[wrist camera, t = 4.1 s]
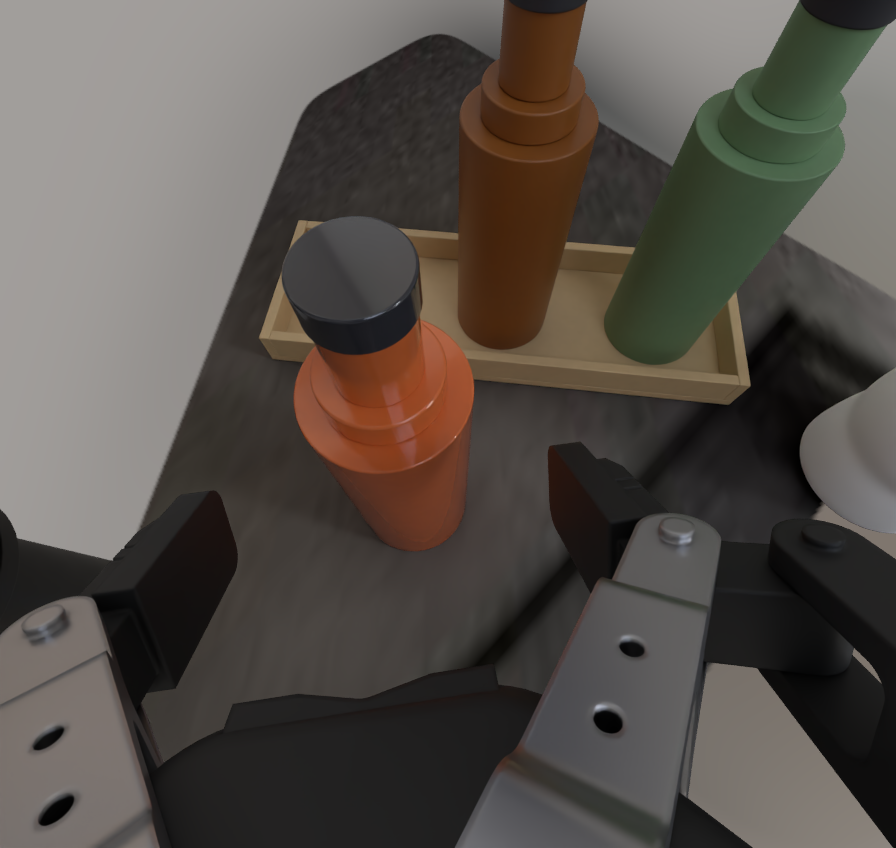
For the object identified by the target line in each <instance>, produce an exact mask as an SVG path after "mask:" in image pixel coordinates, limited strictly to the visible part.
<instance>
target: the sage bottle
mask: <svg viewBox="0 0 896 848" xmlns="http://www.w3.org/2000/svg"><path fill="white" fill-rule="evenodd" d="M895 19H896V0H799V2H798V4H797V6H796V8H795V9H794V11H793V13H792V15H791V17H790V19H789V21H788V22H787V25H786V26H785V28H784V30H783V32H782V34H781V36H780V37H779V39H778V41H777V43H776V45H775V47H774V49H773V51H772V53H771V54H770V56H769V58H768V60H767V62H766V64H765V65H764V67H760V68H756V69H753V70H751V71H748V72H747V73H745V74H743V75H742V76H741V77H740V78H739V79H738V80H737V82H736V84H735V86H734V88H733V89H729V90H726V91H723V92H720V93H718V94H716V95H714V96H713V97H711V98H709V99H708V100H707V101H706V102H705V103H704V104H703V105H702V106H701V107H700V109H699V111H698V113H697V115H696V117H695V119H694V121H693V123H692V126H691V128H690V130H689V132H688V134H687V137H686V139H685V141H684V143H683V145H682V148H681V150H680V152H679V154H678V156H677V158H676V160H675V163H674V165H673V167H672V169H671V171H670V174H669V176H668V178H667V180H666V182H665V184H664V187H663V189H662V191H661V193H660V195H659V197H658V200H657V202H656V204H655V206H654V208H653V211H652V213H651V215H650V217H649V219H648V221H647V224H646V226H645V228H644V230H643V232H642V234H641V237H640V239H639V241H638V243H637V245H636V248H635V250H634V252H633V254H632V256H631V258H630V261H629V263H628V265H627V267H626V269H625V272H624V274H623V276H622V278H621V280H620V282H619V285H618V287H617V289H616V291H615V293H614V295H613V298H612V300H611V302H610V304H609V306H608V309H607V311H606V313H605V317H604V327H605V332H606V335H607V337H608V339H609V341H610V342H611V343H612V345H613V346H614V347H615V348H616V349H617V350H618V351H619V352H620V353H622V354H623V355H625V356H626V357H628V358H630V359H632V360H634V361H637V362H640V363H644V364H650V365H661V364H667V363H671V362H673V361H676V360H678V359H680V358H681V357H682V356H684V355H685V354H686V353H687V352H688V351H689V349H690V348H691V347H692V346H693V344H694V343H695V342H696V341H697V339H698V338H699V337H700V336H701V334H702V333H703V332H704V331H705V329H706V328H707V327H708V326H709V324H710V323H711V322H712V321H713V319H714V318H715V317H716V316H717V314H718V313H719V312H720V311H721V309H722V308H723V307H724V306H725V304H726V303H727V302H728V301H729V299H730V298H731V297H732V296H733V294H734V293H735V292H736V291H737V290H738V288H739V287H740V286H741V285H742V283H743V282H744V281H745V280H746V278H747V277H748V276H749V275H750V273H751V272H752V271H753V270H754V268H755V267H756V266H757V265H758V263H759V262H760V261H761V260H762V258H763V257H764V256H765V255H766V253H767V252H768V251H769V250H770V248H771V247H772V246H773V245H774V243H775V242H776V241H777V240H778V238H779V237H780V236H781V235H782V233H783V232H784V231H785V230H786V229H787V227H788V226H789V225H790V224H791V222H792V221H793V219H795V217H796V216H797V215H798V214H799V212H800V211H801V210H802V209H803V207H804V206H805V205H806V203H807V202H808V201H809V200H810V199H811V197H812V196H813V195H814V194H815V192H816V191H817V190H818V189H819V187H820V186H821V185H822V184H823V182H824V181H825V180H826V179H827V177H828V176H829V175H830V174H831V172H832V171H833V170H834V169H835V167H836V166H837V165H838V164H839V162H840V161H841V159H842V157H843V153H844V150H845V141H844V137H843V133H842V131H841V129H840V127H839V124H840V123H841V121H842V120H843V118H844V117H845V113H846V102H845V100H844V97H843V96H842V94H841V93H840V92H841V90H842V89H843V87H844V86H845V84H846V83H847V82H848V80H849V79H850V77H851V76H852V74H853V73H854V72H855V70H856V69H857V67H858V66H859V64H860V63H861V62H862V60H863V59H864V57H865V56H866V54H867V53H868V51H869V50H870V49H871V47H872V46H873V44H874V43H875V42H876V40H877V39H878V37H879V36H880V34H881V33H882V31H883V30H884V29H885V27H886V26H887V25H888V24H890V23H891V22H892V21H894V20H895Z"/></svg>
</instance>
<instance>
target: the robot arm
mask: <svg viewBox="0 0 896 848" xmlns="http://www.w3.org/2000/svg"><path fill="white" fill-rule="evenodd" d="M548 473H549V501H550V511H551V516H552V520H553V523H554V526H555V528H556V530H557V532H558V534H559V535H560V537H561V539H562V541H563V543H564V545H565V547H566V548H567V550H568V552H569V554H570V556H571V558H572V560H573V561H574V563H575V565H576V567H577V569H578V571H579V572H580V574H581V576H582V578H583V580H584V582H585V584H586V585H587V587H588V589H589V591H590V593H591V595H590V597H589V599H588V601H587V603H586V605H585V607H584V609H583V612H582V614H581V616H580V618H579V620H578V622H577V624H576V626H575V628H574V630H573V632H572V634H571V637H570V639H569V641H568V643H567V645H566V647H565V649H564V651H563V653H562V655H561V657H560V659H559V662H558V664H557V666H556V668H555V670H554V672H553V674H552V676H551V678H550V680H549V682H548V684H547V687H546V689H545V691H544V693H543V695H541V694H539V693H536V692H532V691H529V690H526V689H521V688H516V687H511V686H503V685H498V681H497V676H496V671H495V667H494V664H489V665H483V666H476V667H470V668H463V669H457V670H450V671H444V672H438V673H431V674H428V675H426V676H423V677H421V678H418V679H415V680H413V681H410V682H408V683H405V684H402V685H400V686H397V687H395V688H392V689H389V690H387V691H384V692H382V693H379V694H376V695H374V696H371V697H368V698H363V699H353V698H341V697H329V696H316V695H304V694H295V695H288V696H282V697H275V698H269V699H262V700H256V701H249V702H243V703H236V704H233V705H232V708H231V710H230V713H229V716H228V719H227V721H226V724H225V727H224V729H222V730H220V731H217V732H215V733H213V734H211V735H209V736H207V737H205V738H203V739H201V740H199V741H197V742H195V743H194V744H192V745H190V746H188V747H187V748H185V749H183V750H182V751H180V752H179V753H177V754H176V755H174V756H173V757H172V758H170V759H169V760H167V761H166V762H165V763H164V762H163V760H162V757H161V754H160V751H159V748H158V745H157V742H156V740H155V737H154V734H153V731H152V728H151V725H150V722H149V720H148V717H147V714H146V712H145V710H144V708H143V705H142V703H141V702H142V700H143V698H144V697H145V695H146V693H149V692H156V691H162V690H169V689H175V688H176V686H177V685H178V683H179V681H180V679H181V677H182V675H183V673H184V671H185V669H186V667H187V665H188V663H189V661H190V659H191V657H192V655H193V653H194V651H195V649H196V648H197V646H198V644H199V642H200V640H201V638H202V636H203V634H204V632H205V630H206V628H207V626H208V624H209V622H210V620H211V618H212V616H213V614H214V612H215V611H216V609H217V607H218V605H219V603H220V601H221V599H222V597H223V595H224V593H225V591H226V589H227V587H228V585H229V583H230V581H231V579H232V577H233V575H234V573H235V571H236V568H237V560H238V554H237V547H236V543H235V540H234V537H233V534H232V531H231V527H230V524H229V521H228V518H227V514H226V511H225V508H224V505H223V502H222V499H221V497H220V495H219V494H218V493H217V492H216V491H214V490H213V491H205V492H198V493H190V494H183V495H180V496H178V497H177V498H176V500H175V501H174V502H173V503H172V504H171V505H170V506H169V507H168V509H167V510H166V511H165V512H164V513H163V514H162V515H161V516H160V517H159V518H158V519H156V520H155V521H153V522H152V523H150V524H149V525H147V526H146V527H144V528H143V529H141V530H140V531H138V532H137V533H136V534H135V535H134V536H133V537H132V539H131V540H130V541H129V542H128V543H127V544H126V545H125V548H124V549H121V550H120V552H119V553H118V554H117V555H116V556H115V557H114V558H113V561H111V562H109V563H108V564H107V566H106V567H105V568H104V569H103V570H102V571H101V572H100V573H99V574H98V575H97V576H96V577H95V579H94V580H93V581H92V582H91V583H90V584H89V585H88V586H87V587H86V588H85V589H84V590H83V591H82V593H81V594H80V595H79V596H74V597H68V598H64V599H60V600H57V601H54V602H52V603H49V604H47V605H44V606H42V607H40V608H38V609H36V610H34V611H32V612H30V613H28V614H27V615H25V616H23V617H22V618H20V619H19V620H17V621H16V622H14V623H13V624H12V625H11V626H9V627H8V628H7V629H6V630H5V631H4V632H3V633H2V634H1V635H0V848H752V847H751V846H750V845H748V844H747V843H746V842H745V841H743V840H742V839H741V838H739V837H738V836H737V835H735V834H734V833H733V832H731V831H730V830H729V829H727V828H726V827H725V826H724V825H722V824H721V823H720V822H718V821H717V820H716V819H714V818H713V817H712V816H710V815H709V814H708V813H706V812H705V811H704V810H702V809H701V808H700V807H698V806H697V805H696V804H694V803H693V802H692V801H691V800H689V799H688V791H689V784H690V777H691V768H692V760H693V753H694V747H695V740H696V734H697V728H698V721H699V714H700V708H701V702H702V695H703V689H704V682H705V676H706V669H707V662H711V663H720V664H728V665H737V666H745V667H753V668H758V670H759V671H760V673H761V674H762V675H763V677H764V678H765V679H766V681H767V682H768V683H769V685H770V686H771V687H772V688H773V690H774V691H775V692H776V694H777V695H778V696H779V698H780V699H781V700H782V702H783V703H784V704H785V706H786V707H787V708H788V710H789V711H790V712H791V714H792V715H793V716H794V718H795V719H796V720H797V722H798V723H799V724H800V725H801V727H802V728H803V730H804V731H805V732H806V733H807V735H808V736H809V737H810V739H811V740H812V741H813V743H814V744H815V745H816V746H817V748H818V749H819V751H820V752H821V753H822V755H823V756H824V757H825V758H826V760H827V761H828V763H829V764H830V765H831V766H832V768H833V769H834V770H835V772H836V773H837V774H838V776H839V777H840V778H841V780H842V781H843V782H844V784H845V785H846V786H847V788H848V789H849V790H850V791H851V793H852V794H853V795H854V797H855V798H856V799H857V801H858V802H859V803H860V805H861V806H862V807H863V809H864V810H865V811H866V813H867V814H868V815H869V816H870V818H871V819H872V821H873V822H874V823H875V825H876V826H877V827H878V828H879V830H880V831H881V832H882V834H883V835H884V836H885V838H886V839H887V840H888V842H889V843H890V844H891V846H892V847H893V848H896V559H895V558H893V557H892V556H890V555H889V554H887V553H886V552H884V551H883V550H882V549H880V548H879V547H877V546H876V545H874V544H873V543H871V542H870V541H868V540H867V539H865V538H864V537H862V536H861V535H859V534H858V533H856V532H853V531H852V530H850V529H847V528H844V527H842V526H839V525H836V524H833V523H828V522H825V521H819V520H812V519H791V520H785V521H782V522H780V523H778V524H776V525H775V526H774V527H773V529H772V533H771V540H770V544H756V543H738V542H726V541H721V538H720V535H719V534H718V532H717V531H716V530H715V529H714V528H713V527H712V526H710V525H709V524H707V523H706V522H704V521H702V520H700V519H697V518H694V517H691V516H687V515H683V514H677V513H669V512H668V511H667V510H666V509H665V508H664V507H663V506H662V505H661V504H660V503H659V502H658V501H657V500H656V499H655V498H654V497H653V496H652V495H651V494H650V493H649V492H648V491H647V490H646V489H645V488H642V485H641V484H640V483H639V482H638V481H637V480H636V479H633V476H632V475H631V474H630V473H629V472H628V471H627V470H626V469H625V468H624V467H623V466H621V465H619V464H617V463H615V462H612V461H610V460H608V459H606V458H602V459H596V458H595V457H594V456H593V455H592V454H591V453H590V451H589V450H588V449H587V448H586V447H585V446H584V445H583V444H582V443H581V442H575V443H568V444H560V445H553V446H550V447H549V450H548ZM854 648H855V649H856V650H857V651H858V652H859V653H860V654H861V655H862V656H863V657H864V658H865V659H866V660H867V661H868V662H869V663H870V664H871V665H872V667H873V668H874V669H875V671H876V673H877V674H878V676H879V678H880V680H881V683H882V684H881V683H880V682H879V681H878V680H877V679H876V678H875V677H874V676H873V675H872V674H871V673H870V672H869V671H868V670H867V669H866V668H865V667H864V666H863V665H862V664H861V663H860V662H859V661H858V660H857V659H856V658H855V657H854V656H853V655H852V653H853V650H854Z"/></svg>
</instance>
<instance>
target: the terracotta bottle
mask: <svg viewBox="0 0 896 848" xmlns="http://www.w3.org/2000/svg"><path fill="white" fill-rule="evenodd" d="M281 276H282V285H283V289H284V292H285V294H286V296H287V298H288V301H289V303H290V305H291V307H292V309H293V311H294V313H295V315H296V317H297V319H298V321H299V323H300V325H301V327H302V329H303V330H304V332H305V333H306V334H307V336H308V337H309V338H310V339H311V340H312V341H313V342H314V344H315V347H314V348H313V349H312V351H311V352H310V353H309V354H308V356H307V357H306V359H305V361H304V362H303V364H302V366H301V368H300V371H299V373H298V376H297V379H296V383H295V388H294V410H295V416H296V419H297V422H298V425H299V428H300V430H301V431H302V433H303V435H304V437H305V438H306V440H307V441H308V443H309V444H310V445H311V447H312V448H313V449H314V451H315V452H316V453H317V455H318V456H319V458H320V459H321V460H322V462H323V463H324V464H325V466H326V467H327V468H328V470H329V471H330V473H331V474H332V475H333V477H334V478H335V479H336V481H337V482H338V484H339V485H340V486H341V488H342V489H343V490H344V492H345V493H346V494H347V496H348V497H349V499H350V500H351V501H352V503H353V504H354V505H355V507H356V508H357V509H358V511H359V512H360V514H361V515H362V516H363V518H364V519H365V520H366V522H367V523H368V524H369V526H370V527H371V529H372V530H373V531H374V533H375V534H376V535H377V536H378V537H379V538H380V539H381V540H382V541H384V542H385V543H386V544H388V545H390V546H392V547H394V548H397V549H400V550H404V551H422V550H427V549H430V548H433V547H435V546H437V545H439V544H441V543H442V542H444V541H445V540H446V539H448V538H449V537H450V536H451V535H452V534H453V533H454V532H455V530H456V529H457V527H458V526H459V524H460V522H461V520H462V517H463V514H464V510H465V503H466V490H467V478H468V465H469V452H470V440H471V427H472V415H473V402H474V379H473V374H472V370H471V367H470V365H469V362H468V360H467V358H466V356H465V354H464V352H463V351H462V350H461V348H460V347H459V346H458V344H457V343H456V342H455V341H454V340H453V339H452V338H451V337H450V336H449V335H448V334H446V333H445V332H444V331H442V330H441V329H439V328H438V327H436V326H434V325H433V324H430V323H428V322H426V321H423V320H421V319H420V313H421V310H422V304H423V295H422V284H421V273H420V262H419V257H418V253H417V251H416V248H415V247H414V245H413V243H412V242H411V240H410V239H409V238H408V237H407V235H406V234H404V233H403V232H402V231H401V230H400V229H398V228H397V227H395V226H394V225H392V224H390V223H388V222H385V221H383V220H379V219H376V218H371V217H362V216H350V217H342V218H337V219H333V220H330V221H326V222H324V223H321V224H319V225H317V226H315V227H313V228H312V229H310V230H308V231H307V232H306V233H304V234H303V235H302V236H301V237H300V238H298V239H297V240H296V242H295V243H294V244H293V245H292V246H291V248H290V249H289V251H288V253H287V255H286V257H285V259H284V262H283V266H282V273H281Z"/></svg>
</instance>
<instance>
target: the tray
mask: <svg viewBox="0 0 896 848" xmlns="http://www.w3.org/2000/svg"><path fill="white" fill-rule="evenodd" d="M321 223H324V222H314V221H303V220H299V221H298V224H297V227H296V230H295V233H294V236H293V239H292V242H291V245H290V248H291V246H292V245H293V244H294V243H295V242H296V240H297V239H298V238H300V237H301V236H302V235H303V234H304V233H306V232H307V231H308V230H310V229H312V228H313V227H315V226H317V225H319V224H321ZM398 229H400V228H398ZM400 230H401V231H402V232H403V233H404V234H406V235H407V237H408V238H409V239H410V240H411V242H412V243H413V245H414V247H415V248H416V251H417V253H418V257H419V262H420V273H421V284H422V295H423V304H422V310H421V313H420V319H421V320H423V321H426V322H428V323H430V324H433V325H434V326H436V327H438V328H439V329H441V330H442V331H444V332H445V333H446V334H448V335H449V336H450V337H451V338H452V339H453V340H454V341H455V342H456V343H457V344H458V346H459V347H460V348H461V350H462V351H463V352H464V354H465V356H466V358H467V360H468V362H469V365H470V367H471V370H472V374H473V379H476V380H486V381H496V382H506V383H516V384H526V385H536V386H546V387H556V388H566V389H576V390H586V391H596V392H606V393H616V394H626V395H635V396H645V397H655V398H665V399H675V400H685V401H695V402H705V403H715V404H725V405H729V404H730V403H732V402H733V400H735V399H736V398H737V397H738V396H740V395H741V394H742V393H743V392H744V391H745V390H746V389H748V388H749V387H750V378H749V372H748V365H747V359H746V352H745V346H744V339H743V333H742V327H741V320H740V314H739V307H738V301H737V294H736V292H735V293H734V294H733V296H732V297H731V298H730V299H729V301H728V302H727V303H726V304H725V306H724V307H723V308H722V309H721V311H720V312H719V313H718V314H717V316H716V317H715V318H714V319H713V321H712V322H711V323H710V324H709V326H708V327H707V328H706V329H705V331H704V332H703V333H702V334H701V336H700V337H699V338H698V339H697V341H696V342H695V343H694V344H693V346H692V347H691V348H690V349H689V351H688V352H687V353H686V354H685V355H684V356H682V357H681V358H680V359H678V360H676V361H673V362H671V363H667V364H661V365H650V364H644V363H640V362H637V361H634V360H632V359H630V358H628V357H626V356H625V355H623V354H622V353H620V352H619V351H618V350H617V349H616V348H615V347H614V346H613V345H612V343H611V342H610V341H609V339H608V337H607V335H606V332H605V327H604V317H605V313H606V311H607V309H608V306H609V304H610V302H611V300H612V298H613V295H614V293H615V291H616V289H617V287H618V285H619V282H620V280H621V278H622V276H623V274H624V272H625V269H626V267H627V265H628V263H629V261H630V258H631V256H632V254H633V252H634V250H635V248H633V247H620V246H608V245H596V244H584V243H571V242H566V244H565V248H564V251H563V255H562V259H561V262H560V266H559V269H558V273H557V276H556V280H555V284H554V287H553V291H552V294H551V298H550V302H549V305H548V309H547V312H546V316H545V319H544V323H543V326H542V328H541V330H540V332H539V333H538V334H537V336H536V337H535V338H534V339H532V340H531V341H530V342H528V343H527V344H525V345H523V346H520V347H518V348H514V349H508V350H497V349H491V348H487V347H484V346H482V345H480V344H478V343H476V342H474V341H473V340H472V339H470V338H469V337H468V336H467V335H466V333H465V332H464V331H463V329H462V328H461V326H460V323H459V320H458V233H449V232H437V231H424V230H412V229H400ZM290 248H289V249H290ZM281 273H282V272H281ZM259 339H260V340H261V342H262V343H263V345H264V346H265V348H266V349H267V351H268V353H269V354H270V356H271V357H272V359H276V360H286V361H296V362H304V361H305V359H306V357H307V356H308V354H309V353H310V352H311V351H312V349H313V348H314V347H315V344H314V342H313V341H312V340H311V339H310V338H309V337H308V336H307V334H306V333H305V332H304V330H303V329H302V327H301V325H300V323H299V321H298V319H297V317H296V315H295V313H294V311H293V309H292V307H291V305H290V303H289V301H288V298H287V296H286V294H285V292H284V289H283V285H282V276H281V275H280V278H279V280H278V283H277V286H276V289H275V292H274V295H273V298H272V301H271V304H270V307H269V310H268V313H267V316H266V319H265V322H264V325H263V328H262V331H261V334H260V337H259Z"/></svg>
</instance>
